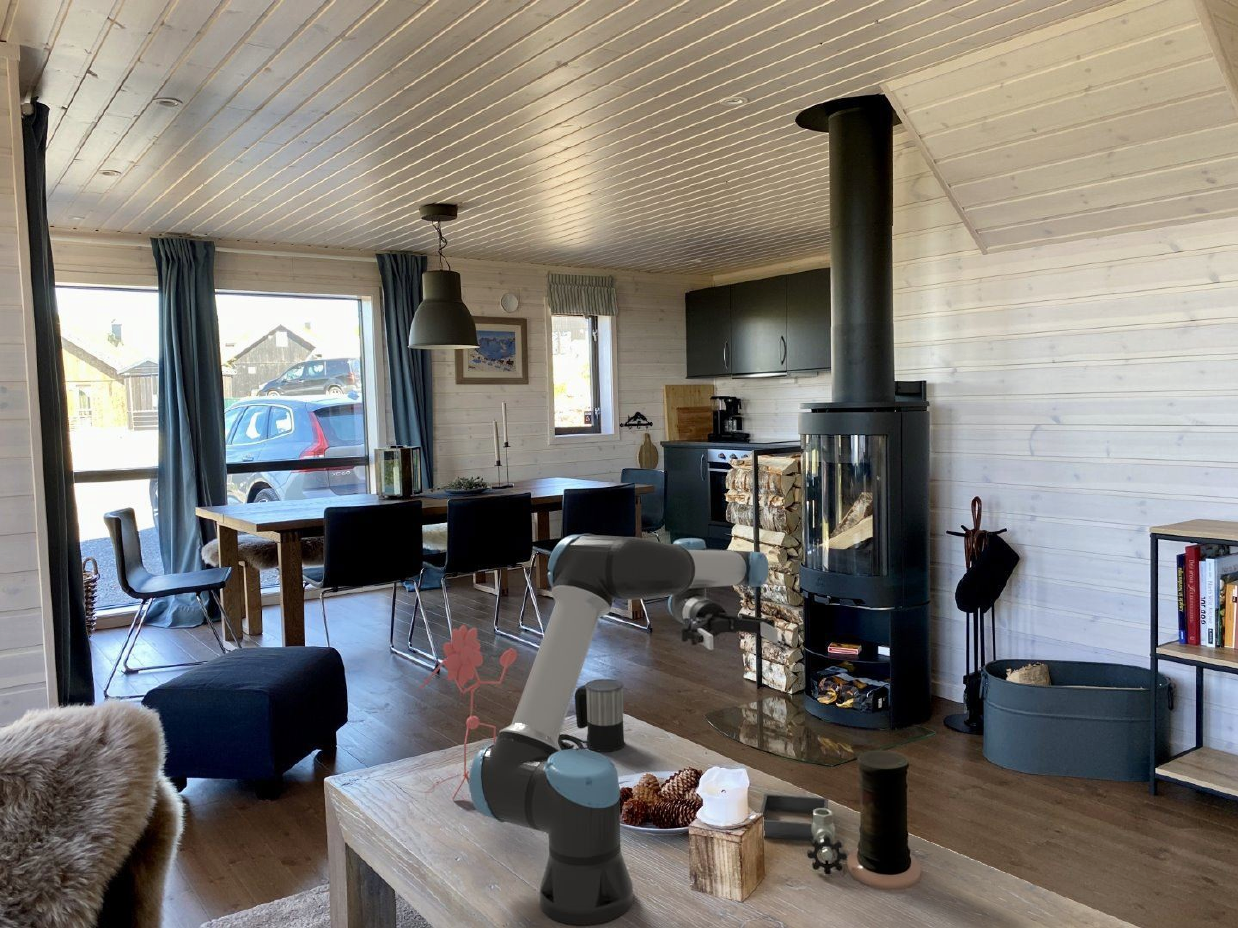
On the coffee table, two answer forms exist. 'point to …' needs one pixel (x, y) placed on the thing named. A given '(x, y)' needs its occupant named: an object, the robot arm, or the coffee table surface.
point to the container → (883, 813)
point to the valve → (825, 841)
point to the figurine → (468, 672)
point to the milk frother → (598, 716)
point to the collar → (790, 805)
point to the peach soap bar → (884, 880)
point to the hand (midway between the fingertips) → (744, 639)
